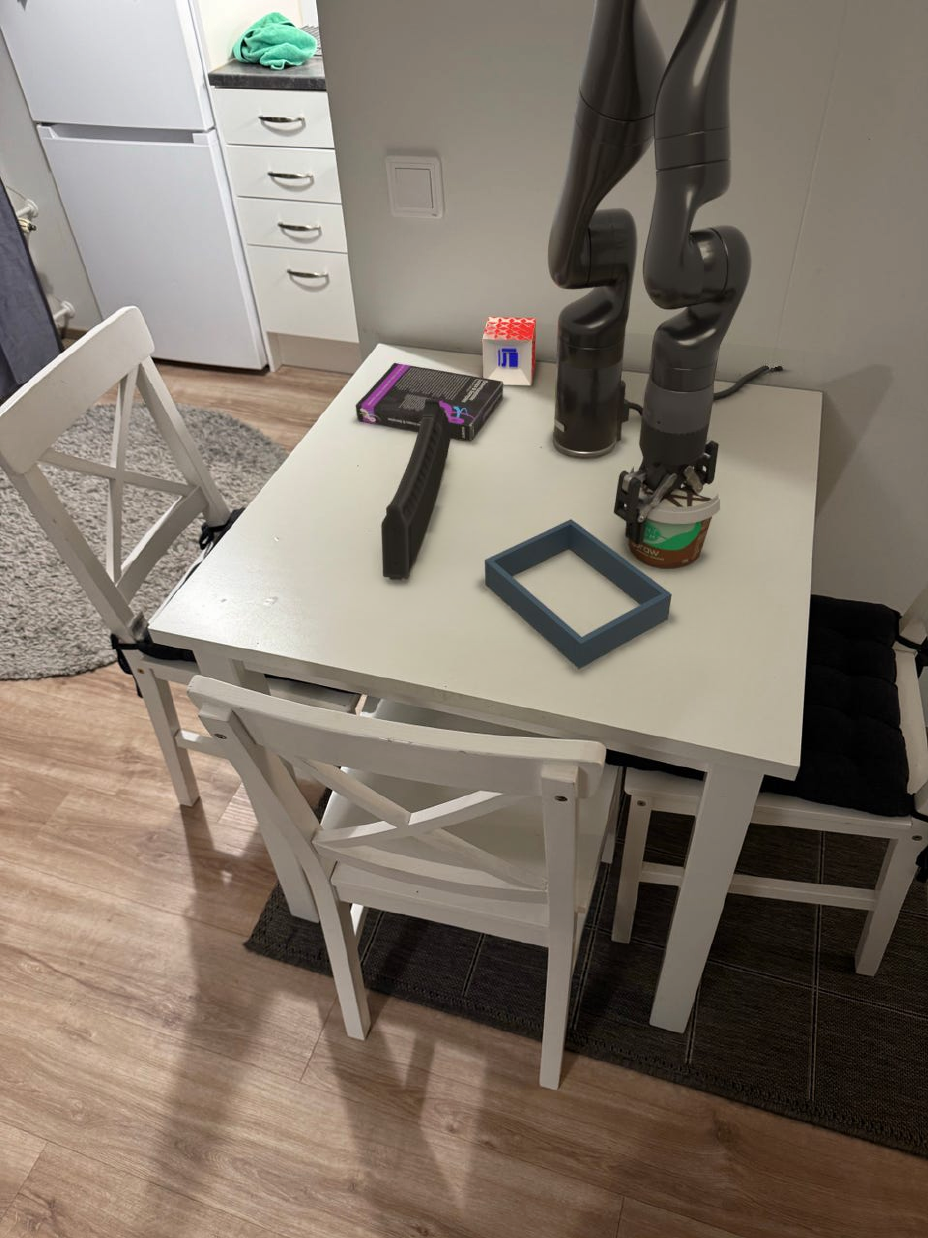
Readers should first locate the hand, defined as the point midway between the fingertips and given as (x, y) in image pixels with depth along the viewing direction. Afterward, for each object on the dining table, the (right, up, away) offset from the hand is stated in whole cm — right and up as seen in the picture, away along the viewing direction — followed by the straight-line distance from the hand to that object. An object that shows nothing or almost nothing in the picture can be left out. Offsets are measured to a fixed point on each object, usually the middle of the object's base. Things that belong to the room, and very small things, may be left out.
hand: (660, 527), depth 113 cm
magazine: (-30, +3, +11) cm, 32 cm away
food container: (0, -4, +3) cm, 5 cm away
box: (-30, +22, +31) cm, 48 cm away
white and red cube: (-17, +30, +39) cm, 52 cm away
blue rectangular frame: (-11, -9, -3) cm, 15 cm away
